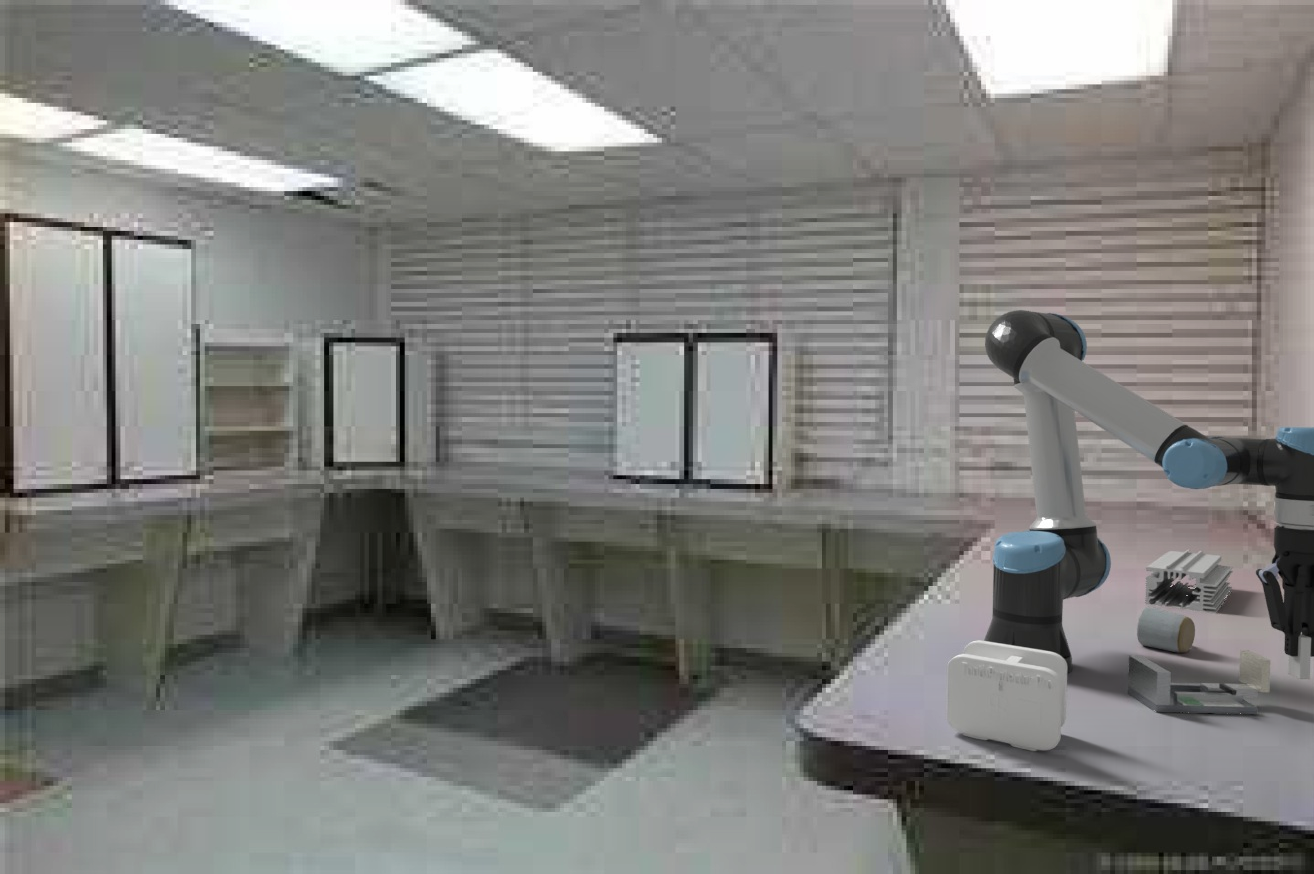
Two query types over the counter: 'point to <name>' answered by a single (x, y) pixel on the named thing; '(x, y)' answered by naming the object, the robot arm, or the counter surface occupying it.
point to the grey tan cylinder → (1165, 630)
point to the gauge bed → (1178, 692)
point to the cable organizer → (1007, 694)
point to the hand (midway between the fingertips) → (1298, 676)
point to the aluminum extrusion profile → (1207, 584)
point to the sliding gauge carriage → (1245, 677)
